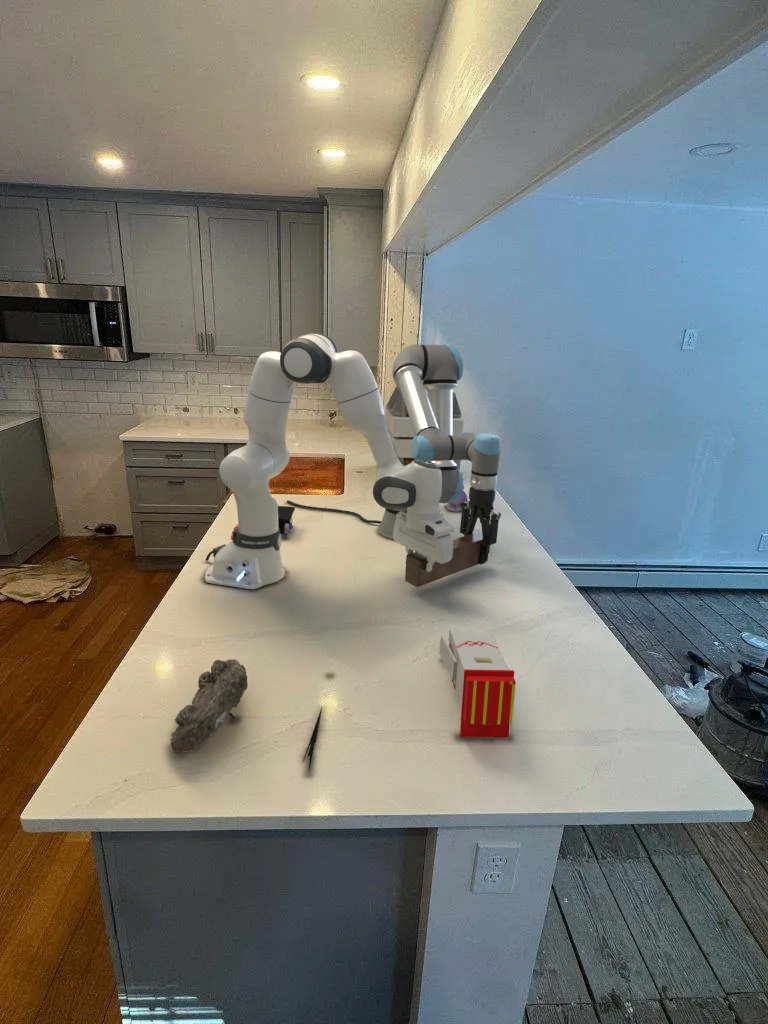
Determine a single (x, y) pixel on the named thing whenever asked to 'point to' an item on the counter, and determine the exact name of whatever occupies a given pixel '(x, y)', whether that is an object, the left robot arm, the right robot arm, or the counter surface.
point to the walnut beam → (462, 558)
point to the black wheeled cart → (285, 519)
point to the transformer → (403, 429)
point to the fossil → (210, 704)
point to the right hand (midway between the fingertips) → (475, 559)
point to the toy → (479, 682)
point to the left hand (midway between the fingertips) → (419, 566)
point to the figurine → (457, 502)
